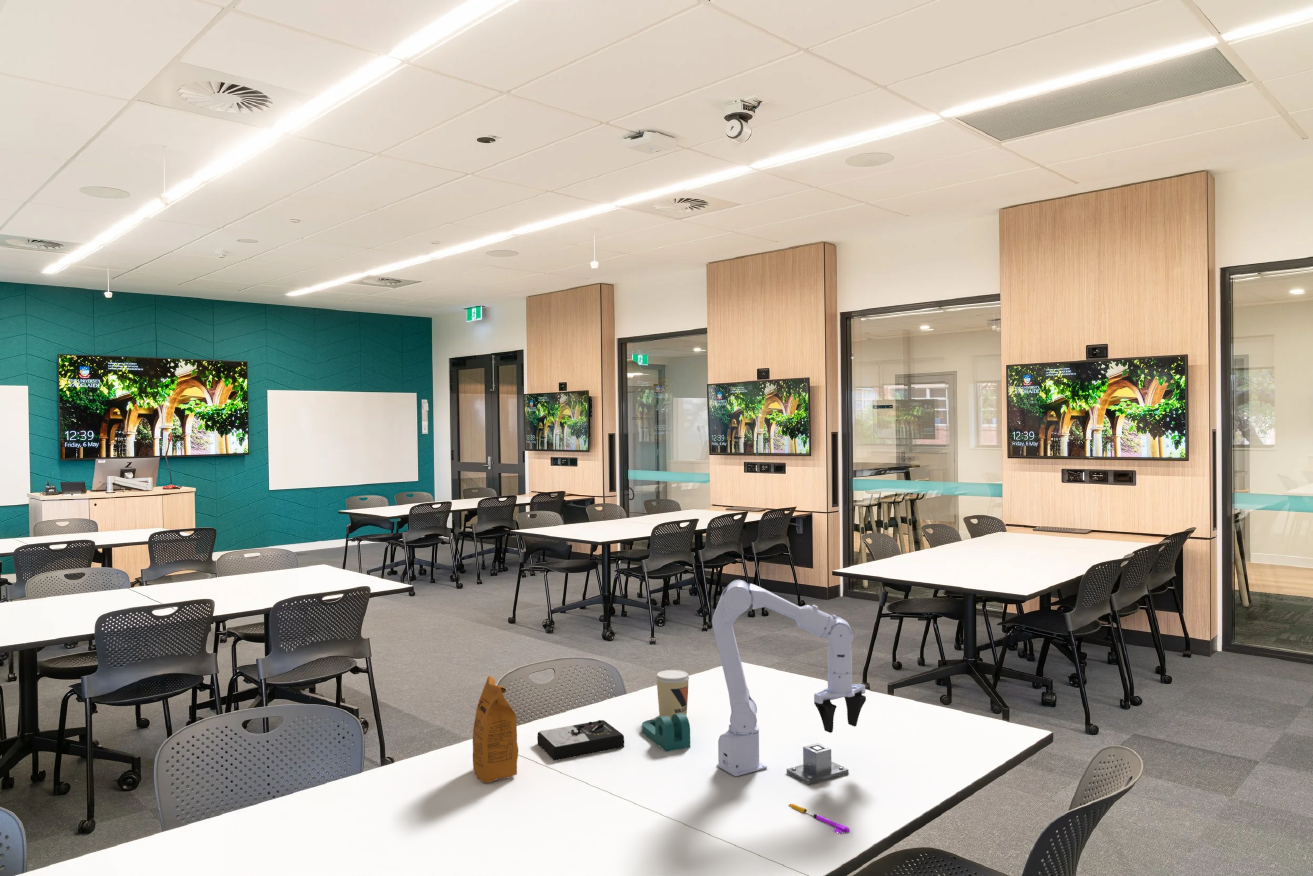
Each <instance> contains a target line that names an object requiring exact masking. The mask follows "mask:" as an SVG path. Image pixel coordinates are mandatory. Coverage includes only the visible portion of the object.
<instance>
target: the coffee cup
mask: <svg viewBox="0 0 1313 876" xmlns="http://www.w3.org/2000/svg"><path fill="white" fill-rule="evenodd" d="M655 677H656V678H655V679H656V689H657V704H658V712H659V713H658V714H659V717H661V716H669V717H670V718H672V716H673V715H674V714H678V713H684V714H685V715H686V716H687V715H688V714H687V713H688V703H689V702H688V699H689V698H688V697H689V696H688V695H689V680H690V675H689V673H688V672H687V671H684V670H679V669H667V670H662V671H659V672H657V675H656V676H655ZM687 717H688V716H687Z"/></svg>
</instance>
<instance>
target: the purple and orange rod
mask: <svg viewBox="0 0 1313 876" xmlns="http://www.w3.org/2000/svg"><path fill="white" fill-rule="evenodd" d="M788 807H790V808H791V809H794V810H796V811H797V812H799V813H802V814H804V813H805V814H807V815H810V816H813V818H814V819H816V820H818V821H819V822H822V823H824V824H826V823H827V824H826V825H828V824H829V825H828V826H830V827H833V828H834V829H833V830H832V832H833V831H836V832H839V833H842V832H845V833H846V832H849V833H850V831H851V830H850V828H849V827H848V826H846V825H844V824H842V823H838V822H836V821H834V820H831V819H829V818H827V817H824V816H823V815H820V814H817V813H814V814H812V813H810V812H808V810H807V808H805V807H802V806H799V805H797V804H794V803H790V804H788ZM835 827H836V828H835ZM842 834H843V833H842Z"/></svg>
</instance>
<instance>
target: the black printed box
mask: <svg viewBox="0 0 1313 876" xmlns="http://www.w3.org/2000/svg"><path fill="white" fill-rule="evenodd" d="M536 739H537V746H539V747H540V748H541V749H542V751H544V752H545V753H546V754H547V756H548V757H550V758H551V759H552V760H553V761H560V760H561V761H562V760H565V759H572V758H577V757H580V756H581V757H582V756H585V755H592V754H596V753H600V752H601V753H603V752H607V751H611V750H616V749H617V750H618V749H621V748H625V735H624V734H623V733H622V732H621V731H619V730H617V729H616V728H615V727H614V726H612V725H611V724H610V723H609V722H607V721H606V720H604V719H603V720H602V719H599V720H597V721H596V720H595V721H589V722H584V723H578V724H574V725H566V726H562V727H556V728H552V729H551V728H550V729H545V730H540V731H538V732H537V738H536Z"/></svg>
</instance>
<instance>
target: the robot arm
mask: <svg viewBox="0 0 1313 876" xmlns="http://www.w3.org/2000/svg"><path fill="white" fill-rule="evenodd" d="M718 600H719V601H718V603H717V605H716V608H715V611H714V613H713V615H712V620H711V625H712V627H713V632H714V636H715V637H714V638H715V641H716V644H717V649H718V653H719V657H720V658H719V659H720V662H721V666H722V670H723V675H724V679H725V683H726V688H727V691H728V697H729V705H730V716H729V725H728V730H727V731H726V732H724V733H722V734H721V735H719V737H718V741H717V743H718V744H717V749H718V751H717V752H718V757H717V758H718V759H717V760H718V761H717V763H716V766H717V767H718V768H720V769H722V770H724V771H725V772H727V773H728V774H730V775H732V776H734V777H739V776H742V775H743V776H744V775H747V774H750V773H754V772H758V771H761V770H764V769H767V768H768V766H767V765H766V764H764V763H762V762H761V761H760V727H759V726H758V724H757V723H758V718H757V713H758V709H757V708H758V706H757V704H756V702H755V701H754V699H753V698H752V697H751V694H750V690H749V688H748V686H747V681H746V676H745V673H744V669H743V664H742V660H741V656H740V652H739V651H740V650H739V647H738V644H737V643H738V642H737V639H736V635H735V630H734V626H733V624H734V623H735V622H736V621H737V619H738V618H739V616H741V615H742V614H743V613H745V612H746V611H748V610H749V608H750V607H751V606H752V608H751V609H752V610H757V609H761V608H766V609H768V610H771V611H773V612H776V613H779V614H780V615H783V616H786V617H788V618H790V619H793V620H795V622H796V625H797V627H798V628H800V629H801V630H804V631H806V632H809V633H811V634H813V635H814V636H817V637H819V638H821V639H827V642H828V647H827V648H828V649H827V651H826V652H827V687H826V688H824V689H823V690H820V691H818V692H816V693H813V696H814V697H813V699H814V700H813V702H814V703H813V704H814V705H815V707H816V710H817V711H818V712H819V716H820V718H821V722H822V725H823V726H822V727H823V730H824V731H825V732H827V733H829V734H832V733H833V731H834V720H835V719H834V718H835V714H836V713H835V712H836V709H837V707H838V706H837V705H836V704H833V703H832V701H833V700H837V699H842V698H844V700H845V705H846V716H847V717H846V718H847V723H848V725H849V726H852V727H857V724H858V721H859V718H860V717H859V716H860V713H861V711H862V708H863V706H864V704H865V703H866V701H867V697H866V695H864V694H866V685H865V684H861V683H854V684H853V651H852V643H853V641H854V637H855V636H854V633H853V630H852V628H851V626H850V624H849V622H848V621H847V620H845V619H843V617H840V616H837V615H835V614H834V613H833V614H829V613H827V612H824V611H822V610H820V609H819V607H818V606H817V605H816V604H812V606H811V605H809V604H806V605H803V606H799V605H797V604H795V603H793V602H791V601H789V600H788V599H785V598H783V597H781V596H779V595H777V594H775V593H773V592H771V591H769V590H767V589H765V588H763V587H761V586H758V585H756V584H754V583H747V582H746V581H745V580H743V579H742V580H741V579H735V580H733V581H731V582H730V583H729V584H727V586H726V587H725V588H724V589H723V591H722V593H721V595H720V597H719V599H718Z"/></svg>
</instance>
